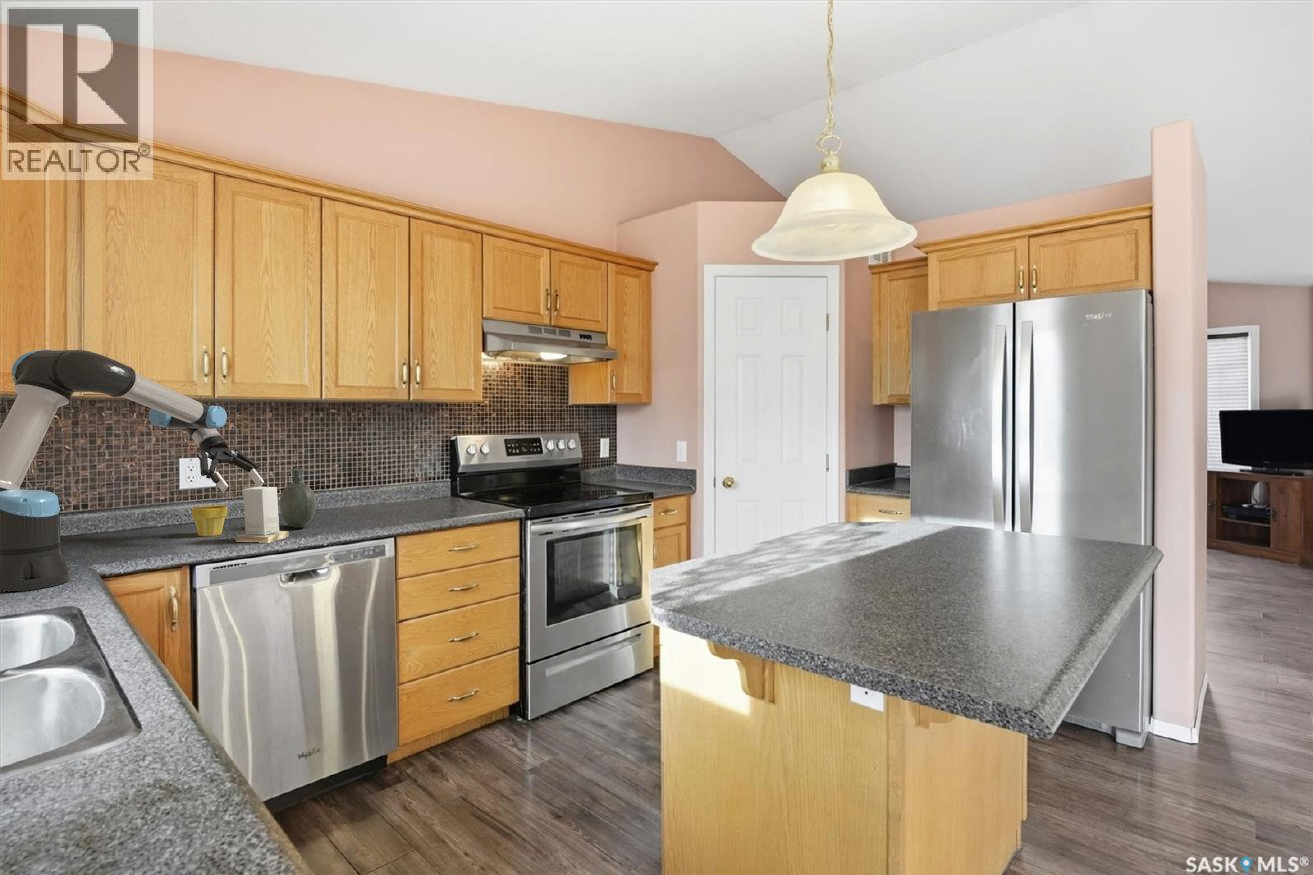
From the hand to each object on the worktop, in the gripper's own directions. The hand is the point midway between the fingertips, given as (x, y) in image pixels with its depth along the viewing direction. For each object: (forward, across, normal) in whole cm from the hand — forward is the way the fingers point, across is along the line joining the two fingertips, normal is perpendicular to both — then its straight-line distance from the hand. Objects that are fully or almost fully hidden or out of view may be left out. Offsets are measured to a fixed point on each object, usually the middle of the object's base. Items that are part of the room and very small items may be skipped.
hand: (244, 486), depth 223 cm
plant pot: (+1, -1, -25) cm, 25 cm away
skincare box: (+17, 0, -5) cm, 18 cm away
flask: (+13, -22, -12) cm, 28 cm away
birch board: (+18, 0, -7) cm, 19 cm away
